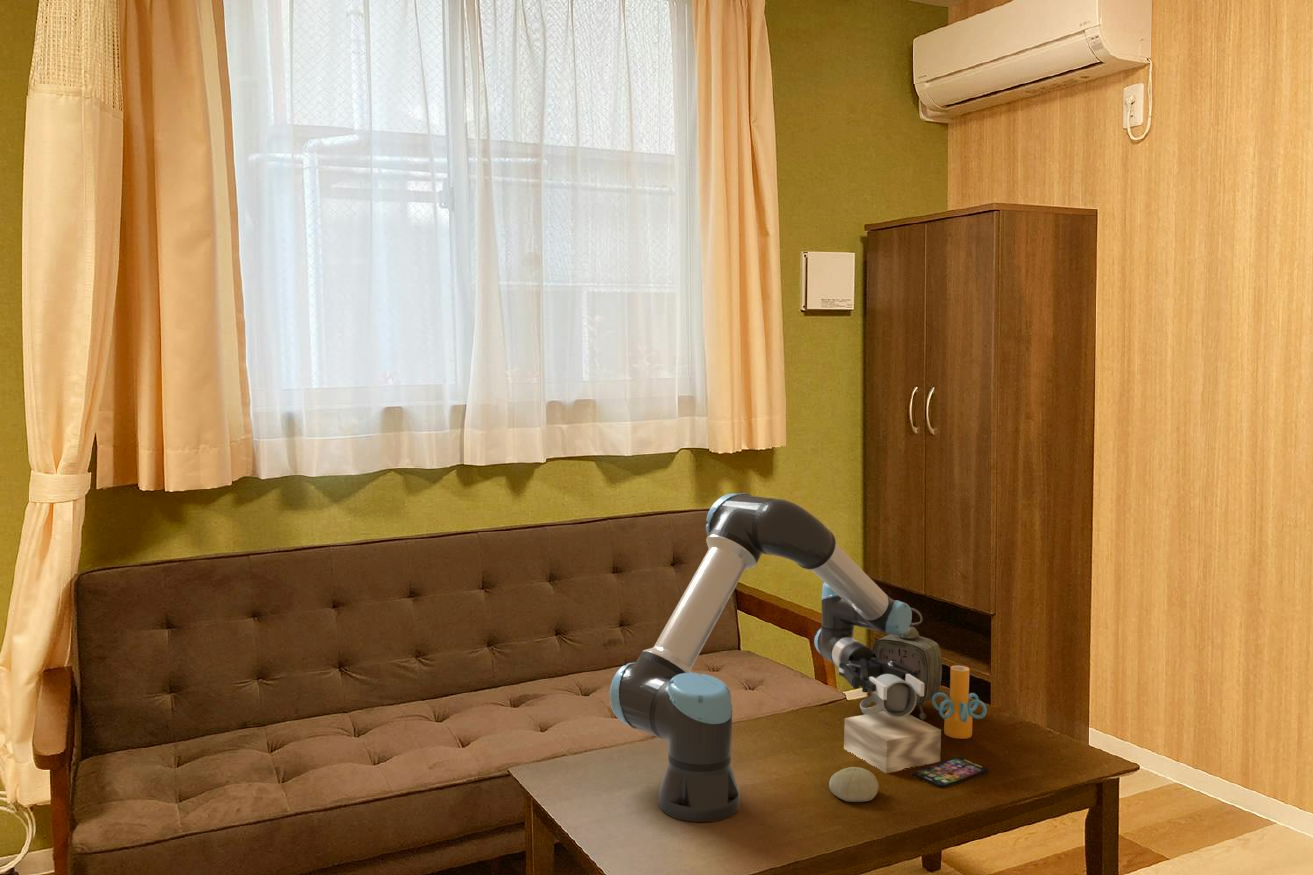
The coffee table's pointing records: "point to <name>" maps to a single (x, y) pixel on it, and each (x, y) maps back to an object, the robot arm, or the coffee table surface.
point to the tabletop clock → (914, 658)
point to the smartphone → (950, 772)
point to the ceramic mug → (892, 698)
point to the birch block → (892, 741)
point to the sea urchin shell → (854, 784)
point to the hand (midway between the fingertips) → (903, 691)
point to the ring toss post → (959, 705)
